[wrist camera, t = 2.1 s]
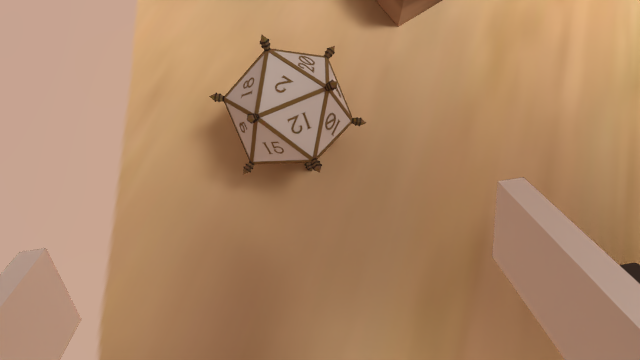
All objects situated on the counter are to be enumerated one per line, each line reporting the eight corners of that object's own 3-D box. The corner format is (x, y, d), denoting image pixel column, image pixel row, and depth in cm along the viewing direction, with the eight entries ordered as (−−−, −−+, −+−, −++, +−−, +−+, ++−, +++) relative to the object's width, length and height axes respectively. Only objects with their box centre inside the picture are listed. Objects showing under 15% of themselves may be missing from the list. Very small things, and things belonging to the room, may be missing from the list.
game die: (280, 137, 36) (232, 15, 30) (383, 130, 33) (352, -8, 27) (232, 215, 30) (160, 81, 24) (353, 217, 26) (304, 61, 21)
